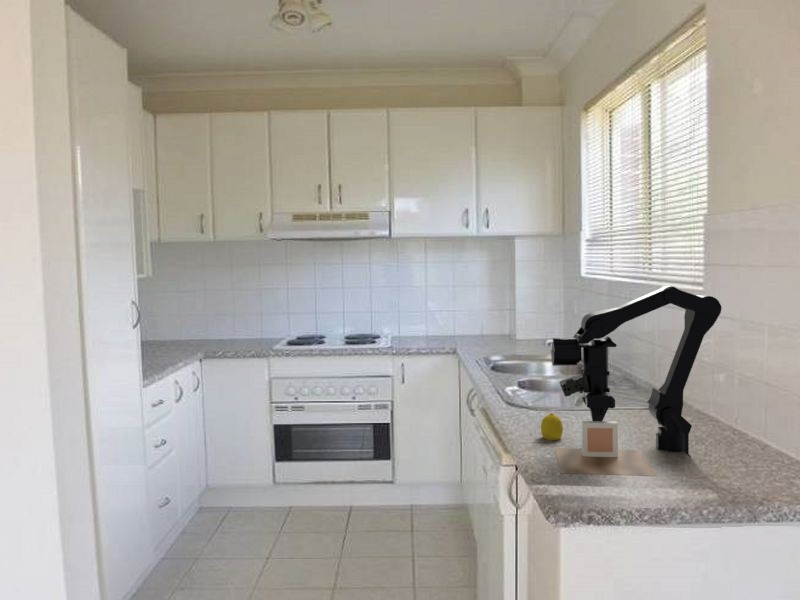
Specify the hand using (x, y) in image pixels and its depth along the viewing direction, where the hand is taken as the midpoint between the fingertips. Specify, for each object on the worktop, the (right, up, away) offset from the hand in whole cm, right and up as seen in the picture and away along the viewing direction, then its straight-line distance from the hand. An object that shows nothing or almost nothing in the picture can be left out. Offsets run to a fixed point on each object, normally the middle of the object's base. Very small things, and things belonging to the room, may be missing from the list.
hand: (596, 428), depth 154 cm
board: (-2, -7, -9) cm, 12 cm away
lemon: (-8, -6, +10) cm, 14 cm away
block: (-1, -5, -6) cm, 8 cm away
